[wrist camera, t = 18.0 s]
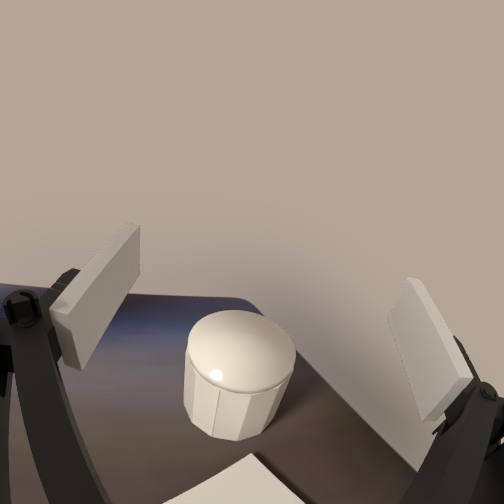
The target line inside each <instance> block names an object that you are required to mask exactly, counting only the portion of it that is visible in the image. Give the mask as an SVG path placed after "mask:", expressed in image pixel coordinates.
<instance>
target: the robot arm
mask: <svg viewBox="0 0 504 504" xmlns="http://www.w3.org/2000/svg"><path fill="white" fill-rule="evenodd" d="M139 253H140V225H137V224H132V223H124V224H123V225H122V226H121V228H119V229H118V231H117V232H116V233H115V234H114V235H113V236H112V237H111V238H110V239H109V240H108V241H107V242H106V243H105V244H104V245H103V246H102V248H101V249H100V250H99V251H98V252H97V253H96V254H95V255H94V256H93V257H92V259H91V260H90V261H89V262H88V263H87V264H86V265H85V266H84V268H83V269H82V270H77V269H74V268H73V269H71V270H69V271H67V272H65V273H63V274H62V275H61V276H60V278H59V279H58V280H57V281H56V283H54V284H53V285H52V286H51V289H49V290H48V291H47V292H46V293H45V294H44V295H43V297H42V298H41V299H40V300H38V297H37V295H36V294H35V293H34V292H33V291H30V290H18V291H15V292H13V293H11V294H10V295H8V296H7V297H6V299H5V300H4V303H3V307H4V310H5V313H6V316H7V319H6V318H0V504H11V496H10V483H9V460H8V435H9V411H10V397H11V386H12V377H13V373H15V379H16V385H17V391H18V396H19V401H20V406H21V411H22V416H23V420H24V424H25V429H26V433H27V436H28V440H29V444H30V448H31V451H32V455H33V458H34V461H35V464H36V468H37V471H38V474H39V477H40V480H41V482H42V485H43V488H44V491H45V493H46V496H47V499H48V501H49V504H112V502H111V500H110V498H109V497H108V495H107V493H106V491H105V489H104V487H103V485H102V482H101V480H100V478H99V476H98V474H97V472H96V470H95V467H94V465H93V463H92V461H91V458H90V456H89V454H88V451H87V449H86V447H85V444H84V442H83V439H82V437H81V434H80V431H79V429H78V426H77V423H76V421H75V418H74V415H73V412H72V409H71V406H70V403H69V400H68V397H67V394H66V391H65V388H64V384H63V381H62V377H61V374H60V370H59V367H58V364H57V362H58V360H59V358H60V357H61V355H62V357H63V361H64V364H65V365H66V366H69V367H72V368H74V369H77V370H80V371H83V369H84V367H85V365H86V364H87V362H88V360H89V358H90V356H91V355H92V353H93V351H94V349H95V347H96V346H97V344H98V342H99V340H100V339H101V337H102V335H103V333H104V332H105V330H106V328H107V327H108V325H109V323H110V322H111V320H112V318H113V317H114V315H115V313H116V312H117V310H118V308H119V307H120V305H121V303H122V302H123V300H124V298H125V297H126V295H127V294H128V292H129V290H130V288H131V287H132V285H133V284H134V282H135V281H136V279H137V278H138V276H139V274H140V264H139V261H140V254H139ZM387 320H388V323H389V326H390V328H391V331H392V334H393V336H394V339H395V342H396V345H397V347H398V350H399V353H400V356H401V359H402V361H403V364H404V367H405V370H406V373H407V376H408V379H409V382H410V385H411V388H412V391H413V394H414V397H415V400H416V404H417V407H418V410H419V414H420V417H421V421H422V422H423V421H436V420H437V419H438V418H439V417H440V416H441V415H442V414H443V412H444V413H445V416H446V419H445V420H444V421H443V422H442V423H441V424H440V425H439V426H438V427H437V428H436V429H435V430H434V431H433V433H432V434H433V435H434V434H435V433H436V432H438V433H437V435H436V437H435V440H434V441H433V444H432V445H431V447H430V450H429V452H428V454H427V456H426V457H425V459H424V461H423V463H422V465H421V467H420V469H419V471H418V473H417V474H416V476H415V478H414V480H413V482H412V483H411V485H410V487H409V488H408V490H407V492H406V493H405V495H404V497H403V498H402V500H401V502H400V503H399V504H504V443H503V444H501V439H502V438H503V437H504V398H502V397H498V394H497V392H496V390H495V389H494V387H492V386H491V385H490V384H488V383H486V382H481V381H480V379H479V377H478V375H477V373H476V371H475V369H474V367H473V365H472V363H471V361H470V360H469V357H468V355H467V354H466V351H465V349H464V347H463V345H462V344H461V343H460V341H459V340H458V339H457V338H456V337H455V336H452V334H451V333H450V331H449V328H448V327H447V325H446V323H445V321H444V320H443V318H442V316H441V314H440V312H439V311H438V309H437V307H436V305H435V304H434V302H433V300H432V299H431V297H430V295H429V294H428V292H427V290H426V289H425V287H424V286H423V284H422V282H421V280H420V279H415V278H410V277H408V278H407V280H406V282H405V284H404V286H403V289H402V291H401V293H400V295H399V297H398V299H397V301H396V303H395V305H394V307H393V309H392V311H391V313H390V315H389V317H388V319H387Z"/></svg>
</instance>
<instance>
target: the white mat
mask: <svg viewBox="0 0 504 504" xmlns="http://www.w3.org/2000/svg"><path fill="white" fill-rule="evenodd" d="M163 504H305V503H304V502H303V501H302V500H300V499H299V498H298V497H297V496H296V495H295V494H294V493H293V492H291V491H290V490H289V489H288V488H287V487H286V486H285V485H284V484H283V483H282V482H281V481H279V480H278V479H277V478H276V477H275V476H274V475H273V474H272V473H271V472H270V471H269V470H268V469H267V468H266V467H265V466H264V465H263V464H262V463H261V462H260V461H259V460H258V459H257V458H256V457H255V456H254V455H253V454H252V453H251V454H249V455H247V456H246V457H244V458H243V459H241V460H240V461H238V462H237V463H235V464H233V465H232V466H230V467H228V468H227V469H225V470H224V471H222V472H220V473H218V474H217V475H215V476H213V477H212V478H210V479H208V480H206V481H205V482H203V483H201V484H199V485H198V486H196V487H194V488H192V489H190V490H188V491H186V492H185V493H183V494H181V495H179V496H177V497H175V498H173V499H171V500H169V501H167V502H165V503H163Z"/></svg>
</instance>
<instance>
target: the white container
mask: <svg viewBox="0 0 504 504" xmlns="http://www.w3.org/2000/svg"><path fill="white" fill-rule="evenodd" d="M295 359H296V350H295V346H294V343H293V341H292V339H291V337H290V336H289V334H288V333H287V332H286V331H285V330H284V329H283V328H282V327H281V326H280V325H278V324H277V323H276V322H274V321H272V320H271V319H269V318H267V317H264V316H262V315H259V314H256V313H252V312H248V311H241V310H227V311H220V312H216V313H213V314H210V315H208V316H206V317H204V318H202V319H201V320H200V321H198V322H197V323H196V324H195V325H194V327H193V328H192V330H191V332H190V334H189V339H188V346H187V350H186V360H185V381H184V405H185V408H186V410H187V412H188V415H189V417H190V419H191V422H192V423H193V424H195V425H196V426H197V427H199V428H200V429H201V430H203V431H204V432H206V433H207V434H208V435H210V436H211V437H215V438H221V439H227V440H234V441H237V440H238V441H240V440H243V439H246V438H249V437H252V436H255V435H258V434H260V433H261V432H262V431H263V430H264V429H265V428H266V426H267V425H268V424H269V423H270V422H271V420H272V419H273V418H274V415H275V413H276V411H277V408H278V406H279V404H280V402H281V399H282V397H283V394H284V392H285V390H286V387H287V385H288V382H289V380H290V378H291V375H292V373H293V370H294V363H295Z"/></svg>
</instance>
